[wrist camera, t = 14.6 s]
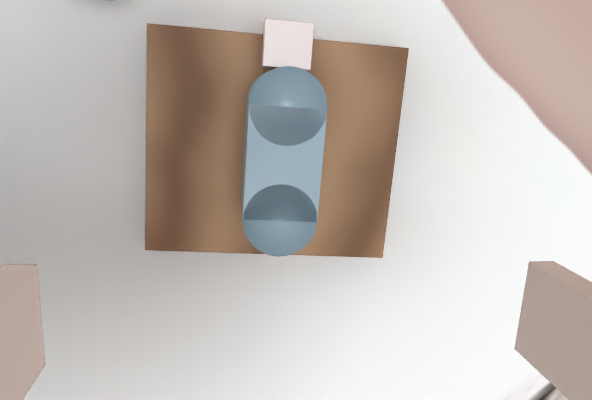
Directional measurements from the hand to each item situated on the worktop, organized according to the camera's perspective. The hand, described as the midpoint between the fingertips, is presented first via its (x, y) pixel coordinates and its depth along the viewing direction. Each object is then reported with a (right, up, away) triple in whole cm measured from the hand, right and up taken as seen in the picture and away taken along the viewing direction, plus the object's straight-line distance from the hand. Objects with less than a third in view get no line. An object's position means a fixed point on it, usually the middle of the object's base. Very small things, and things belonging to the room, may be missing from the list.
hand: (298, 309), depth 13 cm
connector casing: (-1, +7, +18) cm, 19 cm away
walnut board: (-2, +7, +20) cm, 21 cm away
